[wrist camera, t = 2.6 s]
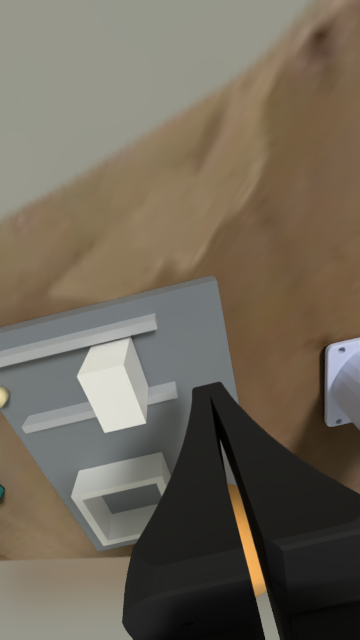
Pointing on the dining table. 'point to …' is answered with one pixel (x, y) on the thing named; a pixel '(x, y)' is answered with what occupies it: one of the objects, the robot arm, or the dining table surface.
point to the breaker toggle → (115, 384)
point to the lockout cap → (247, 541)
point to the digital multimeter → (1, 491)
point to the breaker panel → (79, 417)
